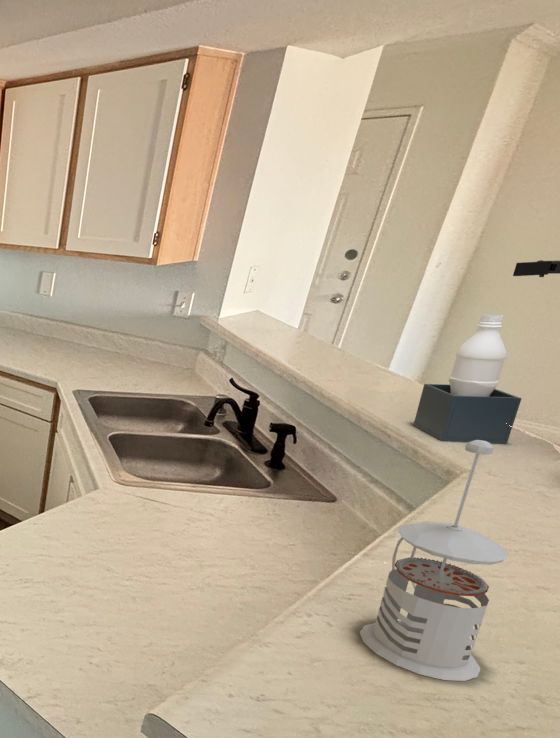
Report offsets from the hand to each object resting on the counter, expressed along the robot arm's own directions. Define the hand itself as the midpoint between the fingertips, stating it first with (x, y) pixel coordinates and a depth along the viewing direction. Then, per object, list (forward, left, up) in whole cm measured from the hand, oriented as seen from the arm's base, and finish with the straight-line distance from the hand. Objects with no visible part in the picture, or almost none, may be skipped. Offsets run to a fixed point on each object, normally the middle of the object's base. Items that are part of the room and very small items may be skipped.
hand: (554, 271), depth 117 cm
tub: (+9, +3, -34) cm, 35 cm away
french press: (+54, +87, -34) cm, 108 cm away
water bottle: (+9, +3, -33) cm, 35 cm away
